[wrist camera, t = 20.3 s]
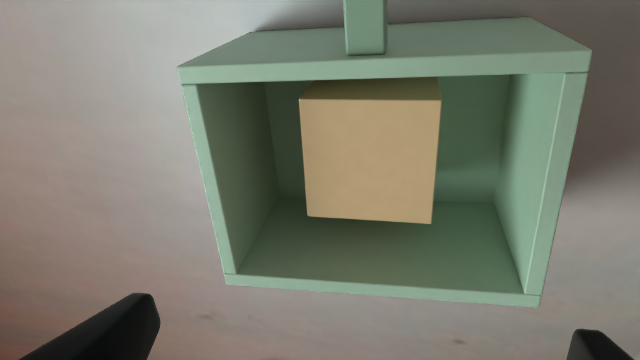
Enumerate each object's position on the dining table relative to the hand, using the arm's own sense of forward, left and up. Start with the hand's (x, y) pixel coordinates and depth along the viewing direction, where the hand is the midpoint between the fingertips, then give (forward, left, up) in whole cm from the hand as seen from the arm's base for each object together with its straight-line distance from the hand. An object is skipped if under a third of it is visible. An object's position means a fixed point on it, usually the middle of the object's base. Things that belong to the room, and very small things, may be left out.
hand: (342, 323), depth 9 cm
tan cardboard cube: (0, 0, -12) cm, 12 cm away
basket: (0, -2, -13) cm, 13 cm away
